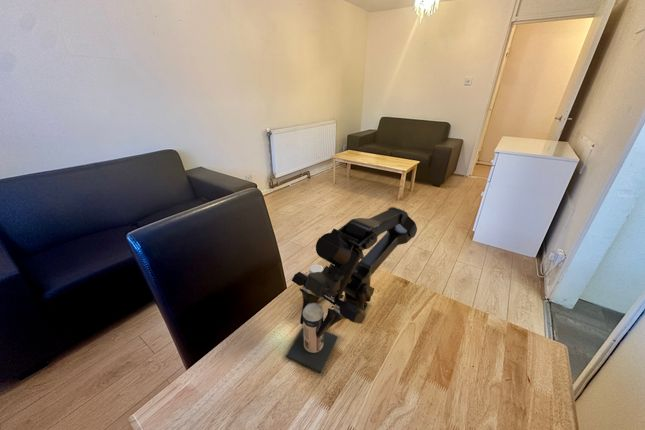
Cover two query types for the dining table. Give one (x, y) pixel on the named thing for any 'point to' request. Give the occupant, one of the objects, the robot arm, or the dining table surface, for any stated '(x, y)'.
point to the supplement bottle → (316, 269)
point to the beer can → (312, 327)
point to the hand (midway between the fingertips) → (309, 330)
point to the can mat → (312, 359)
